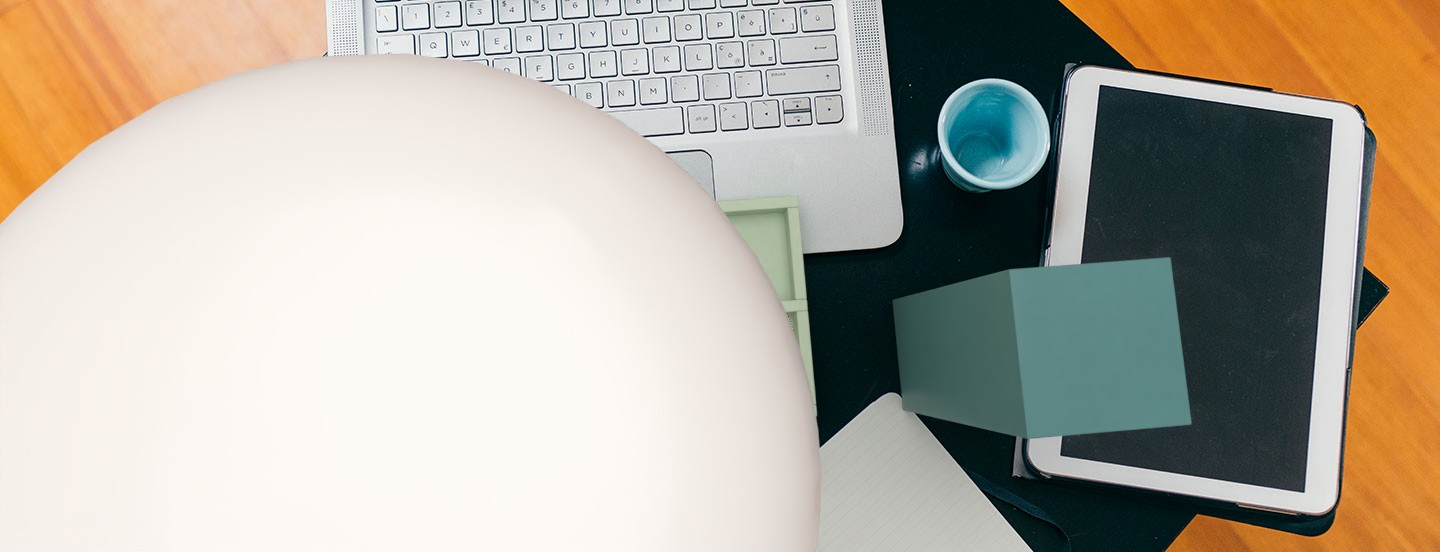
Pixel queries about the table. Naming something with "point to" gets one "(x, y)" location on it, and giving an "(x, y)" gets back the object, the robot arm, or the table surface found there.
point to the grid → (778, 258)
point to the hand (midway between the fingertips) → (617, 399)
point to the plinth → (1047, 350)
